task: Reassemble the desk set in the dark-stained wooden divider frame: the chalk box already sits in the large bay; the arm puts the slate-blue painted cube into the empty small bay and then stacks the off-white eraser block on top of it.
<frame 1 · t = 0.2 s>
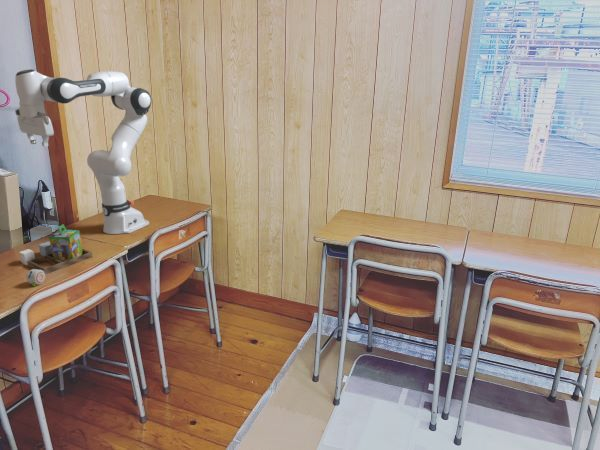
hand: (39, 145, 207), 47 cm above the table, fingers open, 8 cm apart
roller toy: (37, 284, 192), on the table
divider frame: (61, 261, 211), on the table
slate cube: (49, 254, 218), on the table
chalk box: (68, 258, 214), resting in divider frame
eraser: (28, 262, 211), on the table
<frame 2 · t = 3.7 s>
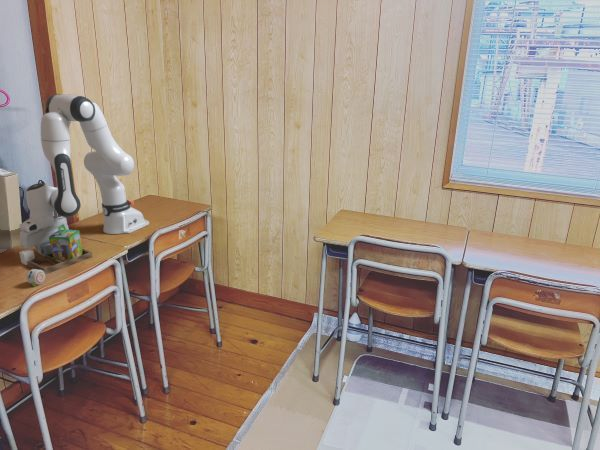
hand: (48, 250, 218), 2 cm above the table, fingers closed on slate cube, 5 cm apart
slate cube: (49, 254, 218), on the table, touching gripper
everything else where it was.
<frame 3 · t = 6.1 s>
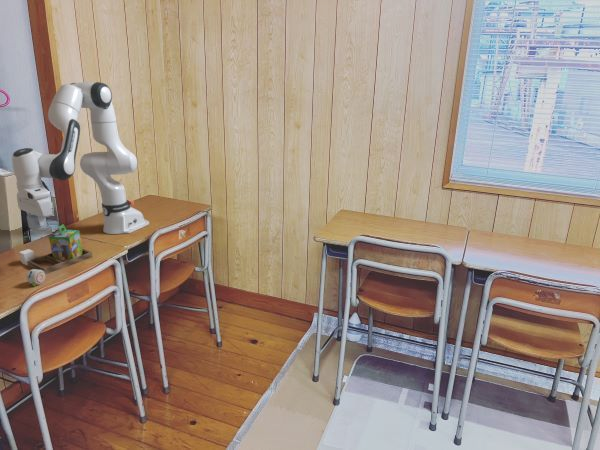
hand: (37, 223, 200), 19 cm above the table, fingers closed on slate cube, 5 cm apart
slate cube: (38, 227, 200), point 17 cm above the table, touching gripper
everything else where it was.
when the fingers open (4 cm above the table, at t = 8.8 s): slate cube drops 2 cm, resting in divider frame.
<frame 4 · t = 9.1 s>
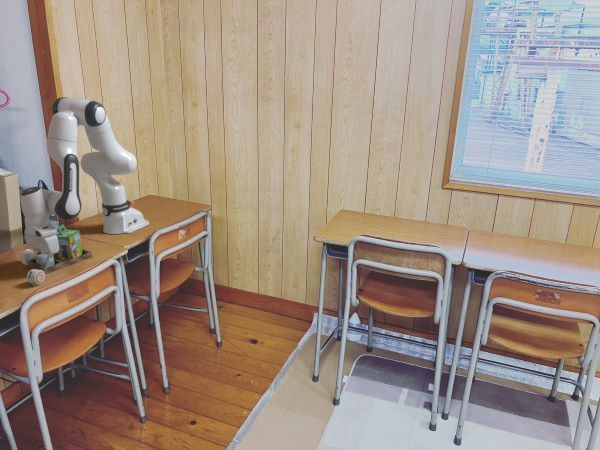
hand: (44, 258, 205), 4 cm above the table, fingers open, 7 cm apart
slate cube: (46, 266, 206), resting in divider frame
everything else where it was.
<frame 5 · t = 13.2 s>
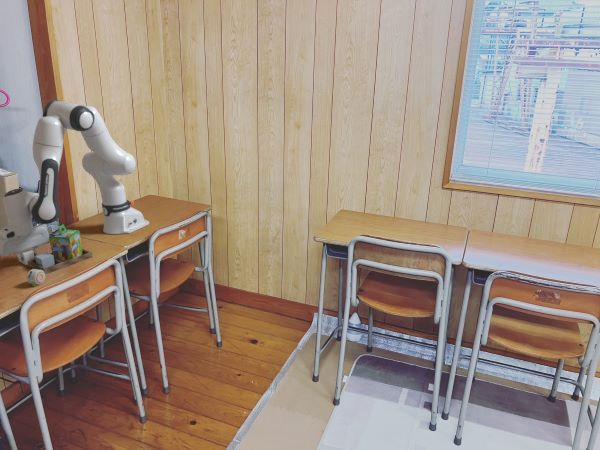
hand: (27, 258, 210), 2 cm above the table, fingers closed on eraser, 4 cm apart
eraser: (28, 262, 211), on the table, touching gripper
everything else where it was.
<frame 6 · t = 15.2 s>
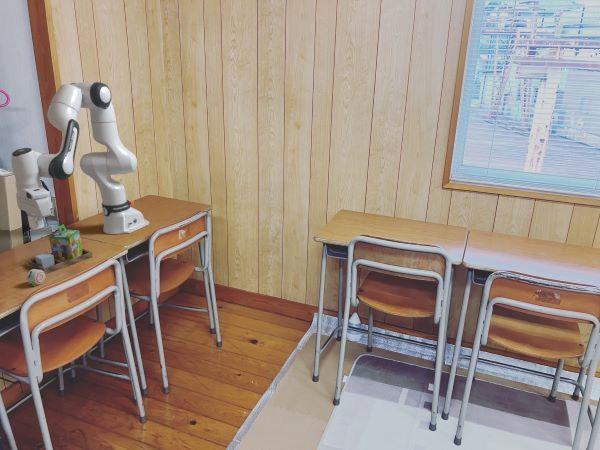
hand: (36, 223, 200), 19 cm above the table, fingers closed on eraser, 4 cm apart
eraser: (37, 227, 201), point 17 cm above the table, touching gripper
everything else where it was.
when the fingers open (8 cm above the table, at t = 17.6 s): eraser drops 2 cm, resting on slate cube.
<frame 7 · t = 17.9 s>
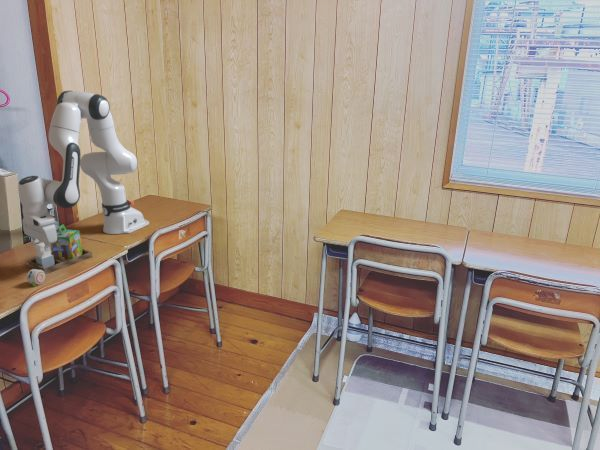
hand: (42, 248, 204), 8 cm above the table, fingers open, 6 cm apart
slate cube: (46, 266, 207), resting in divider frame, touching eraser
eraser: (44, 255, 205), point 5 cm above the table, touching slate cube
everything else where it was.
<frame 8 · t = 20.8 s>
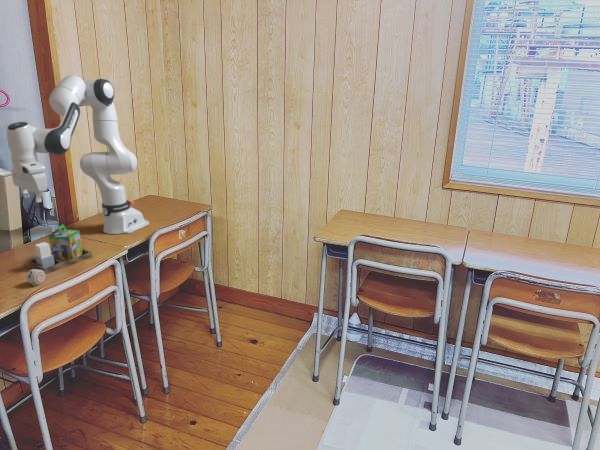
hand: (32, 199, 196), 29 cm above the table, fingers open, 8 cm apart
nothing on the table moved.
at the end: slate cube inside the target area on the divider frame (0.0 cm from its centre), point 0.0 cm above the divider frame's base; eraser 0.0 cm off-centre on the slate cube, point 5.0 cm above the slate cube's base; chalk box moved 0.1 cm from its start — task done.
